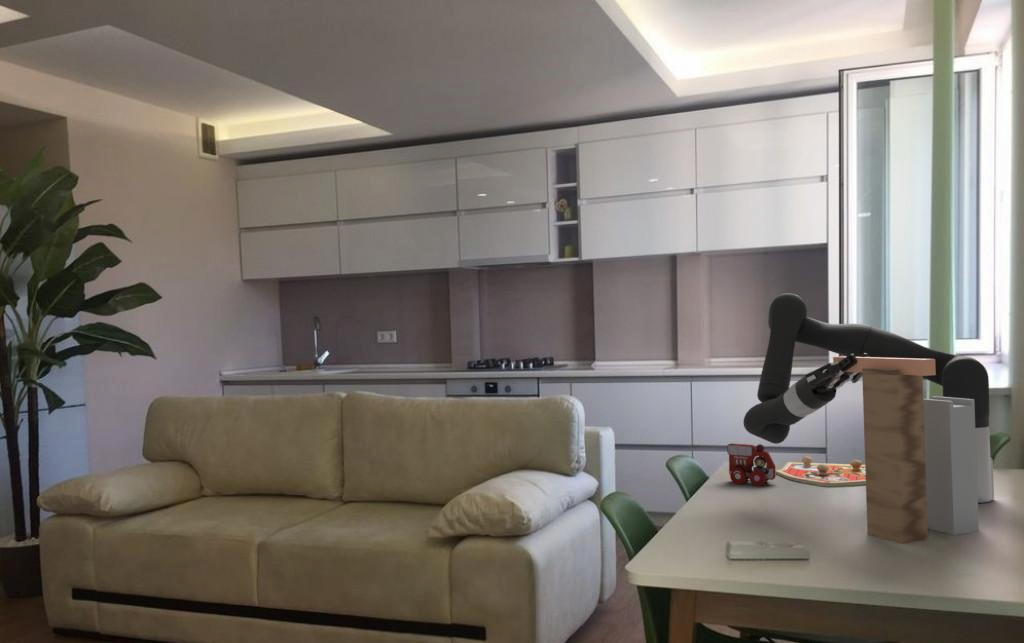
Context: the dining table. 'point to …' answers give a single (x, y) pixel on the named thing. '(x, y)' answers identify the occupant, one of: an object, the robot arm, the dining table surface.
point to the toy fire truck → (750, 464)
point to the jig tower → (894, 455)
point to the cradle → (951, 465)
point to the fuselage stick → (894, 365)
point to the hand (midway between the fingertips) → (860, 357)
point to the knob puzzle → (825, 473)
